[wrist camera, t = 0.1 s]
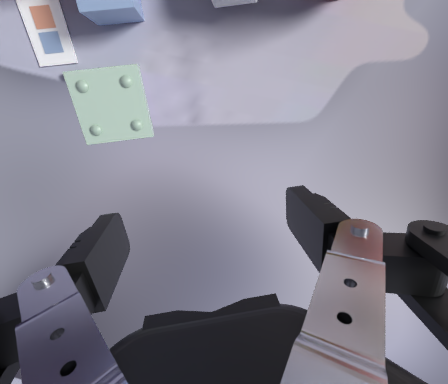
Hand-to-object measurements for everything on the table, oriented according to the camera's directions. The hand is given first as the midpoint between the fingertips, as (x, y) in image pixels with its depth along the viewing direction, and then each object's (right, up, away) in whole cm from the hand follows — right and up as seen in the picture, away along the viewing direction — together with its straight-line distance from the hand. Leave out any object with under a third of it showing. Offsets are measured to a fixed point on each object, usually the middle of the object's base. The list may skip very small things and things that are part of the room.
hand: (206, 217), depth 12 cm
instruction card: (-22, +22, +20) cm, 37 cm away
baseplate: (-16, +14, +24) cm, 32 cm away
